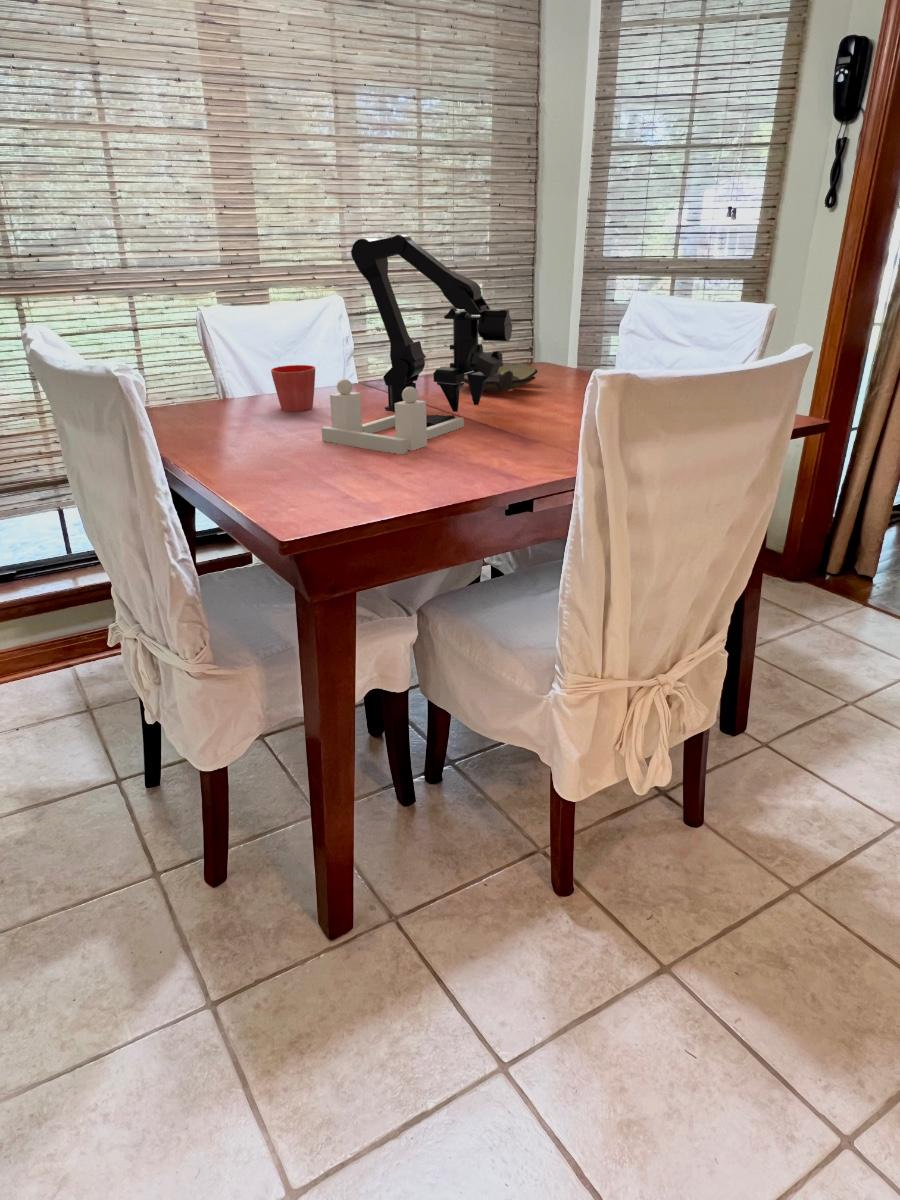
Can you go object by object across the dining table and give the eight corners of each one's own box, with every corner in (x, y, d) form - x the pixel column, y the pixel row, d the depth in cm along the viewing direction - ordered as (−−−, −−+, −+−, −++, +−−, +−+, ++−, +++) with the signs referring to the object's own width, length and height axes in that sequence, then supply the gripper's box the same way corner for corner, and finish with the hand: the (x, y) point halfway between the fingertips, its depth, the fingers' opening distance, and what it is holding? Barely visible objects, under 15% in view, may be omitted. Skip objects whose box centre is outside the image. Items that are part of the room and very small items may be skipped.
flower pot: (266, 411, 198) (261, 370, 194) (290, 402, 207) (286, 363, 203) (303, 414, 195) (299, 372, 190) (326, 405, 204) (323, 365, 200)
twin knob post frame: (322, 441, 170) (317, 382, 165) (399, 417, 190) (397, 365, 185) (402, 454, 159) (399, 392, 154) (474, 428, 179) (475, 372, 174)
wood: (427, 418, 191) (427, 405, 190) (457, 420, 189) (457, 406, 187) (389, 440, 172) (388, 426, 171) (422, 442, 170) (421, 428, 169)
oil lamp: (543, 382, 231) (544, 354, 228) (526, 402, 205) (526, 371, 201) (466, 379, 236) (466, 352, 233) (440, 399, 210) (439, 369, 207)
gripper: (473, 347, 175) (473, 419, 182) (516, 337, 189) (514, 405, 196) (431, 343, 181) (432, 414, 188) (476, 334, 195) (475, 400, 202)
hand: (465, 408), depth 193 cm, fingers open, 9 cm apart
